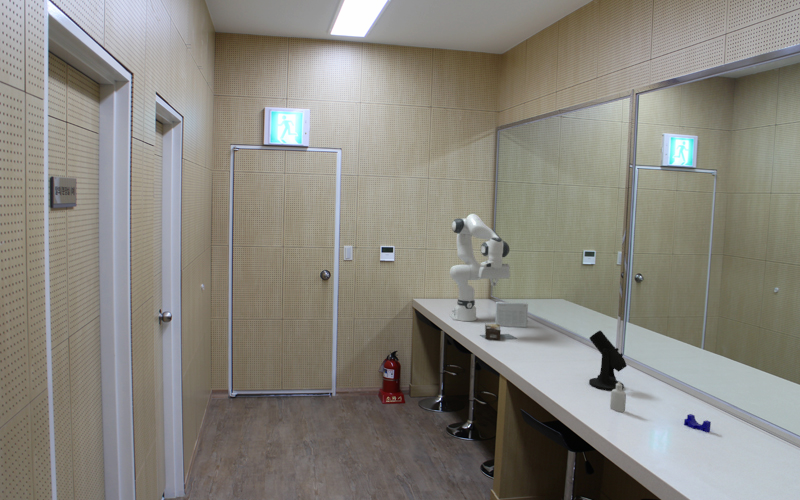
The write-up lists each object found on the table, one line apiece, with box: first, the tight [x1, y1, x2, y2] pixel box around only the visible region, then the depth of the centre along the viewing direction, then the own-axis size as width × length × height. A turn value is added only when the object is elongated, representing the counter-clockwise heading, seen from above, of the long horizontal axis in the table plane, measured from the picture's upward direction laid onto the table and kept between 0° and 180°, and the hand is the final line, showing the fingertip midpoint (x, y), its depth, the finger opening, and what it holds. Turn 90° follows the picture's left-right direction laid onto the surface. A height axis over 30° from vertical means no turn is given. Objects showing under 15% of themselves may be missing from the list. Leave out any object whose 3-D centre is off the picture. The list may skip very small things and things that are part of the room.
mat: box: [479, 333, 518, 341], centre depth 334 cm, size 11×20×1 cm, turn 107°
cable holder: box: [683, 413, 712, 434], centre depth 202 cm, size 8×4×4 cm, turn 25°
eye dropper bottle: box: [609, 380, 627, 413], centre depth 218 cm, size 4×6×12 cm
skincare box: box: [494, 301, 529, 328], centre depth 365 cm, size 21×6×16 cm, turn 84°
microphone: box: [588, 330, 628, 392], centre depth 247 cm, size 15×17×25 cm
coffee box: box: [484, 322, 502, 341], centre depth 333 cm, size 9×6×16 cm
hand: (493, 285), depth 340 cm, fingers closed
